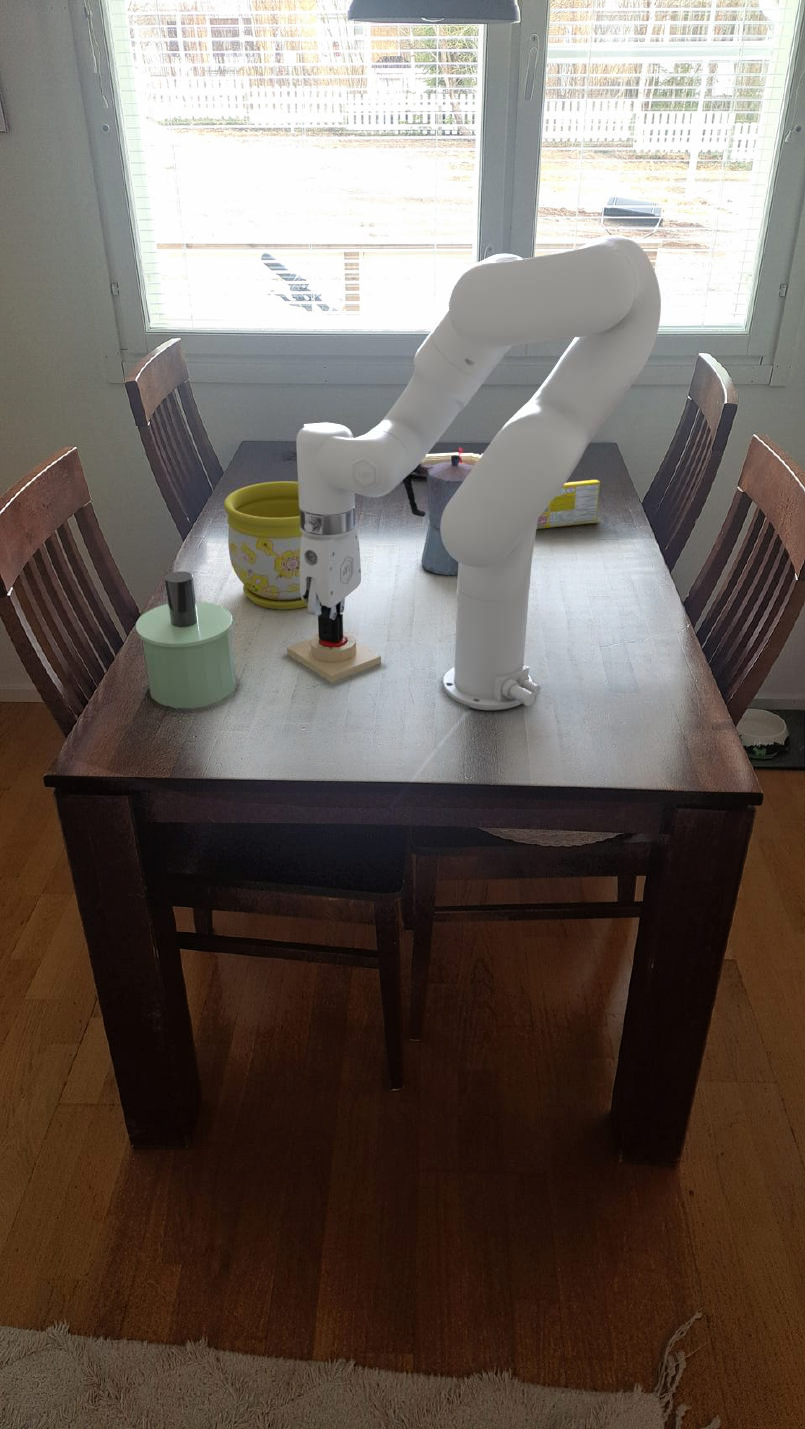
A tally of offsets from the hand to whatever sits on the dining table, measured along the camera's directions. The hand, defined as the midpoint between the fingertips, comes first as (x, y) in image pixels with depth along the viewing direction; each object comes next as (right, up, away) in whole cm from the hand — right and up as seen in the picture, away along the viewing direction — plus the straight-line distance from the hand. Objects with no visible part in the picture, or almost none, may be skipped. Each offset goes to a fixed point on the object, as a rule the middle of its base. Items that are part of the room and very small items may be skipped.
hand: (330, 638), depth 146 cm
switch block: (0, -3, +2) cm, 4 cm away
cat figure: (+21, +41, +74) cm, 87 cm away
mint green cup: (-19, -7, -5) cm, 21 cm away
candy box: (+40, +25, +49) cm, 68 cm away
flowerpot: (-9, +9, +22) cm, 25 cm away
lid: (-19, +1, -10) cm, 22 cm away
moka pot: (+18, +15, +32) cm, 40 cm away
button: (0, -2, +1) cm, 2 cm away
